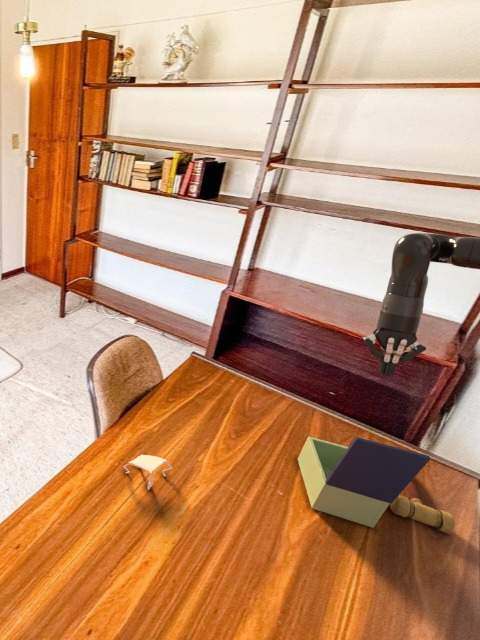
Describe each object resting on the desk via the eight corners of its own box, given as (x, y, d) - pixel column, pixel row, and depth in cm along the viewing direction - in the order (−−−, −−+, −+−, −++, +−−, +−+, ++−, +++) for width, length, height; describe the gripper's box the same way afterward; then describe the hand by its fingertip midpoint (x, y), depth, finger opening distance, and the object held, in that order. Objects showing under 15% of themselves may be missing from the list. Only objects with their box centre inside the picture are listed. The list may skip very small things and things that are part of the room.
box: (297, 459, 110) (308, 436, 106) (350, 474, 106) (364, 451, 102) (311, 508, 97) (324, 484, 93) (373, 528, 93) (389, 503, 89)
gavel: (377, 446, 111) (423, 461, 107) (371, 458, 113) (416, 473, 108) (401, 504, 93) (458, 524, 89) (393, 517, 95) (448, 538, 91)
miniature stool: (139, 497, 98) (142, 483, 96) (120, 469, 105) (123, 456, 103) (177, 482, 102) (181, 469, 100) (157, 457, 109) (160, 444, 107)
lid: (355, 436, 84) (356, 439, 84) (429, 455, 80) (431, 458, 80) (324, 481, 93) (325, 484, 92) (389, 500, 89) (391, 504, 88)
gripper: (426, 311, 101) (410, 373, 105) (362, 304, 106) (349, 364, 109) (443, 319, 94) (425, 385, 98) (374, 311, 99) (359, 375, 103)
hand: (385, 374), depth 104 cm, fingers closed
